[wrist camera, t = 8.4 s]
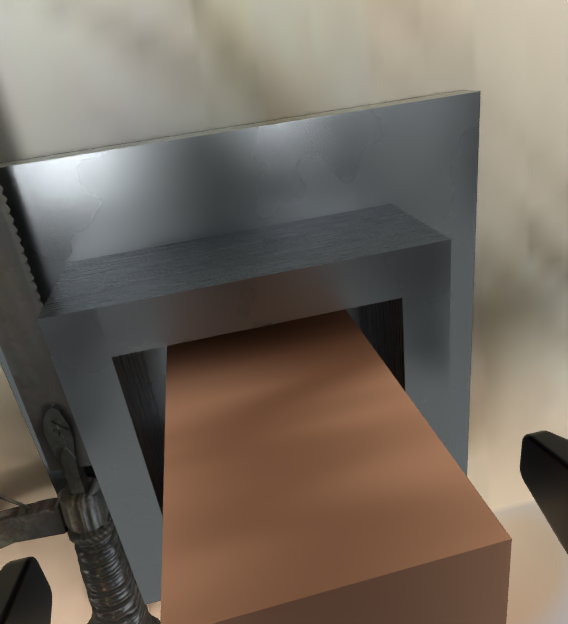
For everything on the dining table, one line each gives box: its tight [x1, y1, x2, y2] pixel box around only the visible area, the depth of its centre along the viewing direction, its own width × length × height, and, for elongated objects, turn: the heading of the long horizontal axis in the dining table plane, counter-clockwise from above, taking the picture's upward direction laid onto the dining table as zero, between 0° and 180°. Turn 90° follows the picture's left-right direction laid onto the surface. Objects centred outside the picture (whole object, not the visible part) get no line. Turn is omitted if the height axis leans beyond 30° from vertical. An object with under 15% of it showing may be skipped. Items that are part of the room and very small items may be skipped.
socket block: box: [0, 90, 480, 604], centre depth 13 cm, size 12×12×4 cm
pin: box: [160, 309, 512, 624], centre depth 10 cm, size 4×4×8 cm
